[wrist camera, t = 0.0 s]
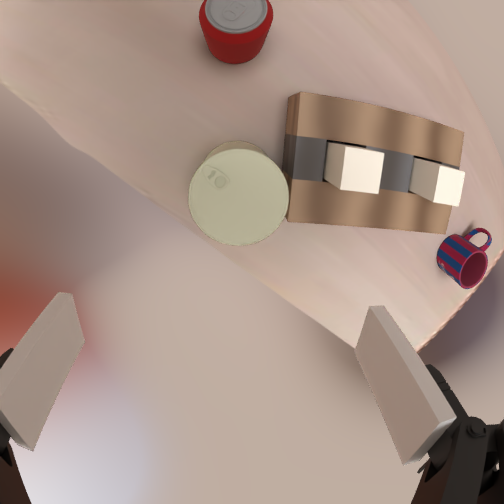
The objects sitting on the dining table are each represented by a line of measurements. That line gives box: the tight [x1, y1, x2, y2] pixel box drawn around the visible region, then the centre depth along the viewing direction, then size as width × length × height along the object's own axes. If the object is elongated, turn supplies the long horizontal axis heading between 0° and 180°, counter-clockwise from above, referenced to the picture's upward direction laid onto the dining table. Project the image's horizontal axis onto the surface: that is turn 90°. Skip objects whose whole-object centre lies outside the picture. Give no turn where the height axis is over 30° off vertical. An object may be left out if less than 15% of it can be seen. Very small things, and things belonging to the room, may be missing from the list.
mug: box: [437, 228, 492, 289], centre depth 40 cm, size 7×10×7 cm
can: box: [188, 141, 289, 246], centre depth 32 cm, size 9×9×12 cm
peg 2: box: [408, 157, 465, 206], centre depth 30 cm, size 4×4×7 cm
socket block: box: [282, 92, 464, 234], centre depth 34 cm, size 22×14×7 cm, turn 86°
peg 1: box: [322, 142, 384, 194], centre depth 29 cm, size 4×4×7 cm
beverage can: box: [199, 0, 273, 64], centre depth 25 cm, size 7×7×12 cm
